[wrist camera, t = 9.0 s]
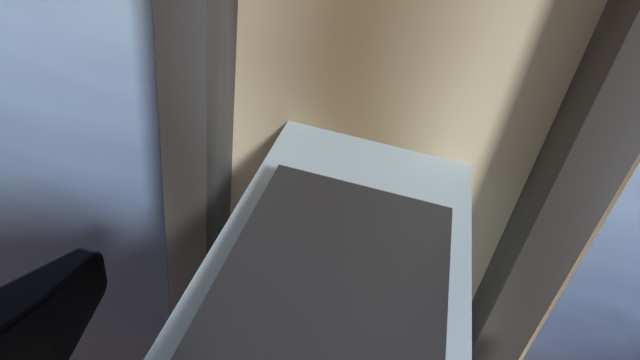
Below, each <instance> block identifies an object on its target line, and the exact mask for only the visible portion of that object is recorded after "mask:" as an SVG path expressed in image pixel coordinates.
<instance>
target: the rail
mask: <svg viewBox="0 0 640 360" xmlns="http://www.w3.org/2000/svg"><path fill="white" fill-rule="evenodd" d="M152 16H153V33H154V50H155V67H156V83H157V100H158V117H159V134H160V151H161V168H162V185H163V201H164V218H165V235H166V252H167V269H168V286H169V303H170V315H171V313H172V312H173V310H174V308H175V307H176V305H177V304H178V302H179V300H180V299H181V297H182V295H183V294H184V292H185V290H186V289H187V287H188V285H189V284H190V282H191V280H192V279H193V277H194V275H195V274H196V272H197V270H198V269H199V267H200V265H201V264H202V262H203V260H204V259H205V257H206V256H207V254H208V252H209V251H210V249H211V247H212V246H213V244H214V242H215V241H216V239H217V237H218V236H219V234H220V232H221V231H222V229H223V227H224V226H225V224H226V222H227V221H228V219H229V217H230V216H231V214H232V212H233V211H234V209H235V208H236V206H237V204H238V203H239V201H240V199H241V198H242V196H243V194H244V193H245V191H246V189H247V188H248V186H249V184H250V183H251V181H252V179H253V178H254V176H255V174H256V173H257V171H258V169H259V168H260V166H261V164H262V163H263V161H264V160H265V158H266V156H267V155H268V153H269V151H270V150H271V148H272V146H273V145H274V143H275V141H276V140H277V138H278V136H279V135H280V133H281V131H282V130H283V128H284V126H285V125H286V123H287V121H292V122H296V123H301V124H305V125H309V126H313V127H317V128H321V129H325V130H330V131H334V132H338V133H342V134H346V135H350V136H354V137H358V138H363V139H367V140H371V141H375V142H379V143H383V144H387V145H392V146H396V147H400V148H404V149H408V150H412V151H416V152H420V153H425V154H429V155H433V156H437V157H441V158H445V159H449V160H454V161H458V162H462V163H466V164H470V165H472V360H522V359H523V358H524V356H525V354H526V353H527V351H528V349H529V347H530V346H531V344H532V342H533V341H534V339H535V337H536V336H537V334H538V332H539V331H540V329H541V327H542V326H543V324H544V322H545V321H546V319H547V317H548V315H549V314H550V312H551V310H552V309H553V307H554V305H555V304H556V302H557V300H558V299H559V297H560V295H561V294H562V292H563V290H564V289H565V287H566V285H567V283H568V282H569V280H570V278H571V277H572V275H573V273H574V272H575V270H576V268H577V267H578V265H579V263H580V262H581V260H582V258H583V257H584V255H585V253H586V251H587V250H588V248H589V246H590V245H591V243H592V241H593V240H594V238H595V236H596V235H597V233H598V231H599V230H600V228H601V226H602V225H603V223H604V221H605V219H606V218H607V216H608V214H609V213H610V211H611V209H612V208H613V206H614V204H615V203H616V201H617V199H618V198H619V196H620V194H621V193H622V191H623V189H624V187H625V186H626V184H627V182H628V181H629V179H630V177H631V176H632V174H633V172H634V171H635V169H636V167H637V166H638V164H639V162H640V0H152Z"/></svg>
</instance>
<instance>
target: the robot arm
mask: <svg viewBox="0 0 640 360" xmlns="http://www.w3.org/2000/svg"><path fill="white" fill-rule="evenodd" d="M106 287H107V277H106V271H105V265H104V259H103V255H102V254H101V253H100V252H98V251H94V250H90V249H87V248H78V249H75V250H73V251H71V252H69V253H67V254H65V255H63V256H61V257H59V258H57V259H55V260H53V261H51V262H49V263H47V264H45V265H43V266H41V267H39V268H37V269H35V270H33V271H31V272H29V273H27V274H25V275H23V276H21V277H19V278H17V279H15V280H13V281H11V282H9V283H7V284H5V285H3V286H1V287H0V360H69V358H70V356H71V355H72V353H73V351H74V349H75V347H76V345H77V344H78V342H79V340H80V338H81V336H82V334H83V332H84V331H85V329H86V327H87V325H88V323H89V321H90V319H91V317H92V316H93V314H94V312H95V310H96V308H97V306H98V304H99V302H100V301H101V299H102V297H103V295H104V293H105V290H106Z"/></svg>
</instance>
